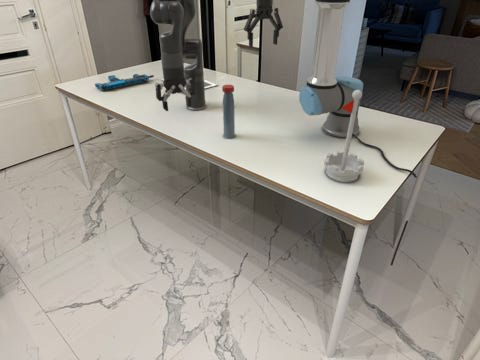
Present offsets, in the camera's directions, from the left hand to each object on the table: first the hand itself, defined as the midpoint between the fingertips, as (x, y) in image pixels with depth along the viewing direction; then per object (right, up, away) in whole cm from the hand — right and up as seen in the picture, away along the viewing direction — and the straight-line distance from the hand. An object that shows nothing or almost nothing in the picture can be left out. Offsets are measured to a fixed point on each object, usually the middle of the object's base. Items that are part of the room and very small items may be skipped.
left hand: (177, 108), depth 128 cm
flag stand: (+60, -25, -8) cm, 65 cm away
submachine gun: (-48, +33, +81) cm, 100 cm away
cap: (+19, +10, +6) cm, 22 cm away
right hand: (+35, +39, +39) cm, 66 cm away
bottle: (+19, -8, +18) cm, 27 cm away
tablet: (-8, +33, +80) cm, 87 cm away
